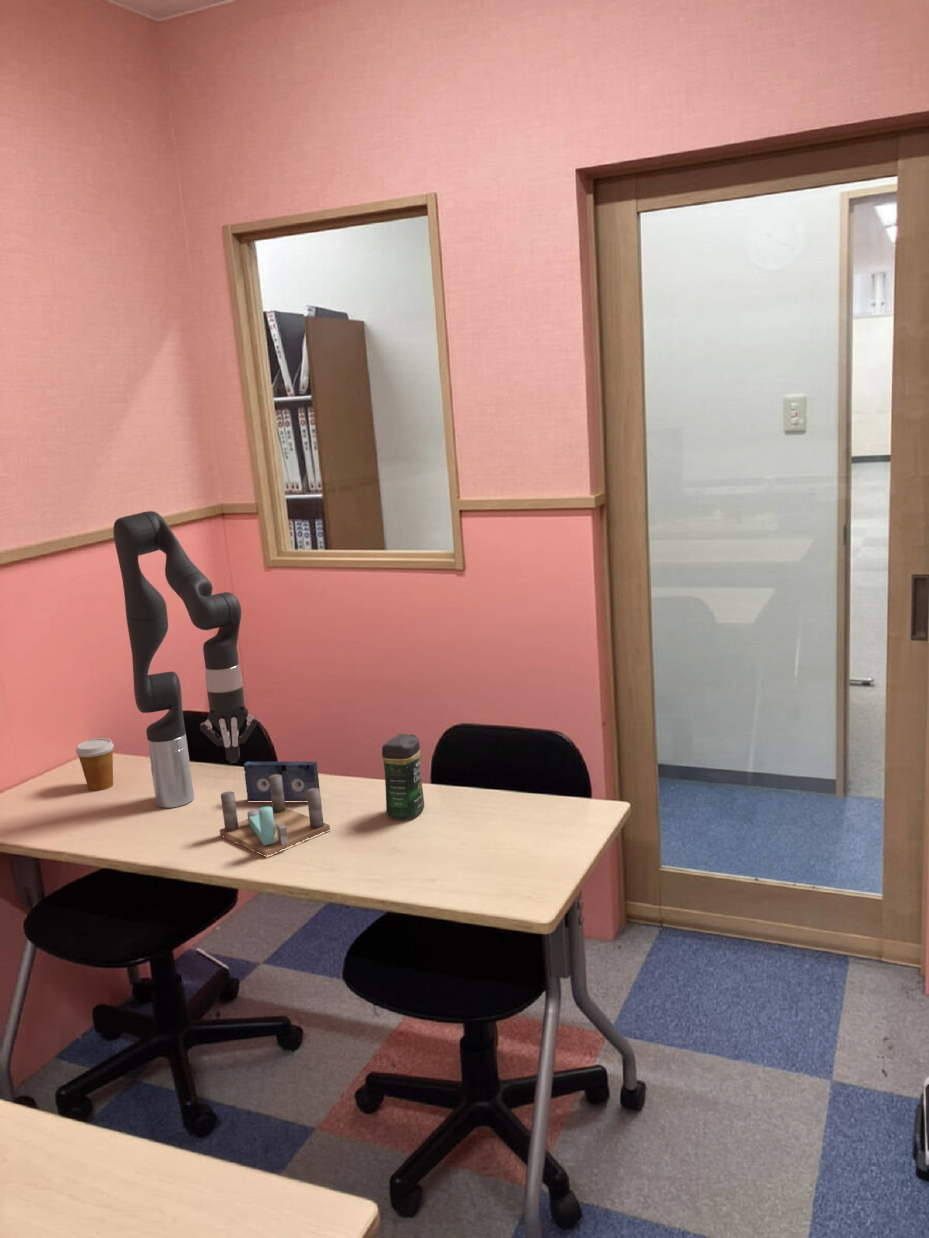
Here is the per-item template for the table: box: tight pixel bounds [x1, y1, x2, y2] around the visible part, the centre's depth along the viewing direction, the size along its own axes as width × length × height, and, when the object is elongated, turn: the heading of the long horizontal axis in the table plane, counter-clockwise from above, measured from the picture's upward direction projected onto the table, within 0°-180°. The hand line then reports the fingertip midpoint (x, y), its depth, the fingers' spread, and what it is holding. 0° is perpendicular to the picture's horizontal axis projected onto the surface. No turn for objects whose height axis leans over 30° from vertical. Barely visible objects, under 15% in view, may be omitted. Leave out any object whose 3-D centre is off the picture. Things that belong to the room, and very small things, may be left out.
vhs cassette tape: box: [243, 760, 321, 802], centre depth 248 cm, size 18×3×10 cm, turn 78°
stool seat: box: [219, 774, 331, 856], centre depth 228 cm, size 20×17×10 cm
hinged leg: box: [246, 806, 275, 846], centre depth 224 cm, size 16×3×8 cm, turn 26°
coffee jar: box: [381, 733, 425, 821], centre depth 234 cm, size 10×8×19 cm
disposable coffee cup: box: [75, 737, 115, 792], centre depth 266 cm, size 10×10×12 cm
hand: (233, 761), depth 220 cm, fingers closed
